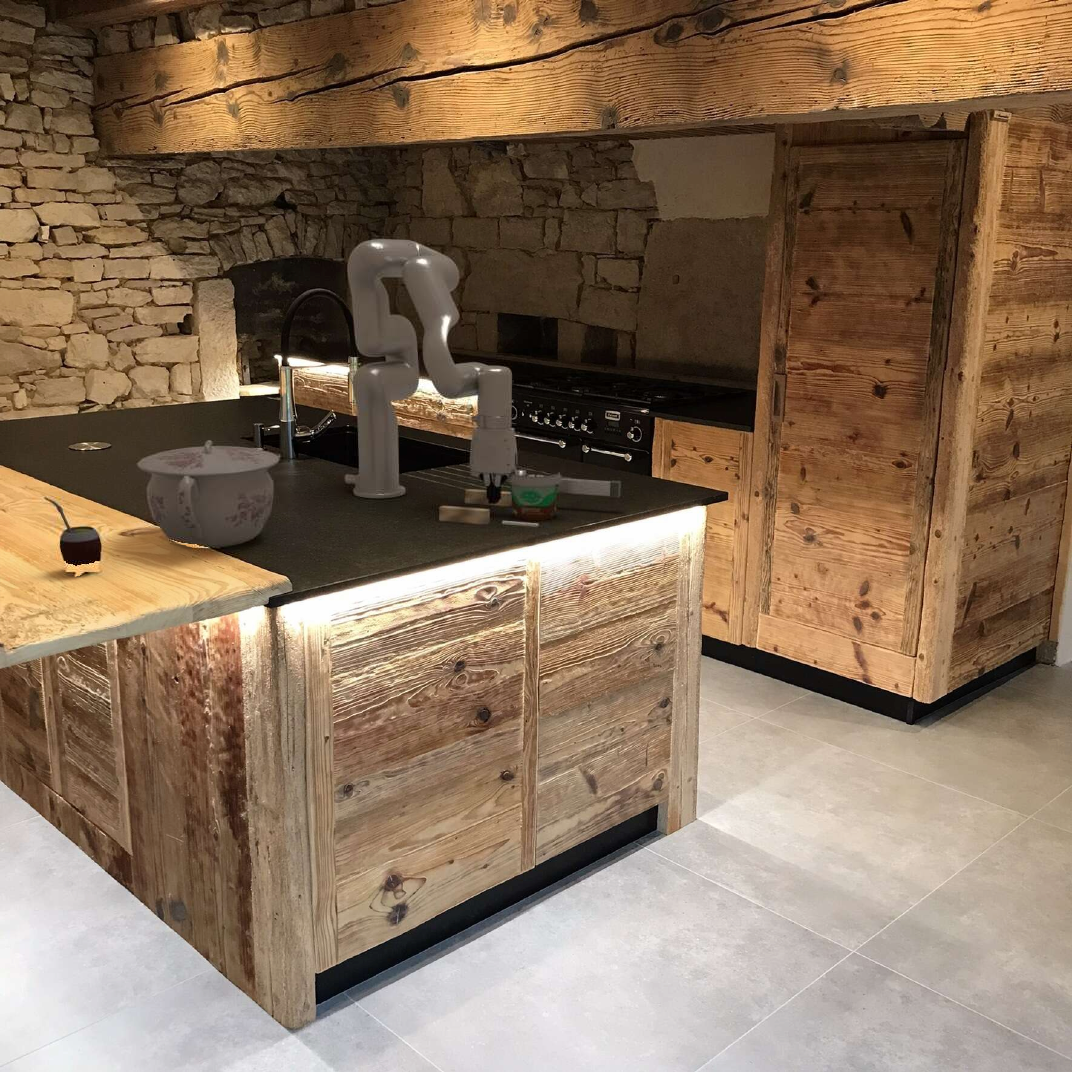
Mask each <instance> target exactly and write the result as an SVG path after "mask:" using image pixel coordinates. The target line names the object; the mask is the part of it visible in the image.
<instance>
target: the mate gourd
mask: <svg viewBox="0 0 1072 1072" xmlns="http://www.w3.org/2000/svg"><path fill="white" fill-rule="evenodd" d="M43 499H44V500H46V501H47V502H49V503H50V504H52V505H54V507H56V510H57V511H58V513H59V514H60V517H61V518H62V520H63V523H64V524H65V528H66V529H65V530H63V532H62V533H61V535H60V538H59V539H60V540H59V549H60V554H61V556H62V559H63V562H64V561H66V563H68V564H73V565H75V566H77V565H81V564H89V563H94V562H95V561H100V562H101V560H102V559H101V558H102V545H103V544H102V542H101V541H102V540H101V538H100V533H99V532H98V530H97V529H96V528H95V527H92V526H85V525H84V526H83V525H82V526H73V527H70V525H69V523H68V520H67V518H66V515H65V513H64V510H63V508H62V507H61V505H60V504H58V503H57V502H56V501H55V500H52V499H50V498H48V497H46V496H44V498H43Z"/></svg>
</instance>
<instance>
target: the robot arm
mask: <svg viewBox="0 0 1072 1072" xmlns="http://www.w3.org/2000/svg"><path fill="white" fill-rule="evenodd" d="M347 261H348V262H347V267H346V268H347V280H348V283H349V288H350V293H351V301H352V315H353V328H354V338H355V345H356V348H357V350H358V353H360V354H361V355H363V356H365V357H370V358H371V357H372V358H377V357H385V361H379V362H371V363H367V364H364V365H362V366H361V367H359V368H358V369H357V370H356V371H355V372H354V374H353V378H352V383H351V384H352V391H353V397H354V401H355V404H356V415H357V417H356V418H357V432H358V433H357V437H358V438H357V440H358V441H357V443H358V474H356V475H354V474H345V476H344V482H345V484H348V485H351V484H354V486H355V487H354V488H353V489H352V490H353V495H354V496H356V497H359V498H367V499H389V498H390V499H391V498H392V499H393V498H396V497H397V498H398V497H400V496H403V495H405V493H406V487H404V486H403V485H400V477H399V476H400V475H399V473H400V471H399V469H400V467H399V466H400V465H399V463H400V462H399V423H398V417H397V414H396V411H395V408H394V407H393V404H392V402H395V401H401V400H405V399H409V398H411V397H413V396H414V395H415V393H416V392H417V390H418V388H419V382H420V368H419V356H418V354H419V353H418V341H417V334H416V330H415V328H414V326H413V324H412V323H411V321H410V320H409V319H408V317H407V318H406V317H405V316H403V315H400V314H391V311H390V299H389V294H388V291H387V289H386V287H385V285H384V284H383V282H382V278H402V279H403V282H404V285H405V287H406V289H407V292H408V294H409V296H410V298H411V301H412V302H413V306H414V308H415V309H416V313H417V315H418V317H419V319H420V322H421V323H422V327H423V329H424V334H423V338H422V358H423V359H422V360H423V364H424V367H425V370H426V372H427V374H428V376H429V379H430V381H431V382H432V384H433V387H434V388H435V390H436V391H437V393H438V394H439V395H441V397H443V398H445V399H448V400H457V399H462V398H468V397H476V396H477V414H476V415H472V416H471V419H470V420H471V422H472V423H475V424H476V426H475V427H474V428H473V431H472V435H471V436H472V437H471V441H470V452H469V453H470V455H469V469H470V476H472V477H476V478H478V479H480V480H481V481H482V482H483V484H484V486H485V487H486V490H487V499H488V503H489V504H491V503H493V504H496V503H498V502H499V500H500V499H501V491H502V485H503V484H504V483H505V482H506V481H507V480H508V476H509V475H510V473H512V474H515V475H517V471H516V470H518V469H517V468H518V448H517V447H518V446H517V439H516V433H515V429H514V428H513V427H512V401H513V400H512V396H513V395H512V392H513V391H512V389H513V388H512V387H513V384H512V383H513V382H512V381H513V380H512V379H513V374H512V370H511V369H510V368H509V367H507V366H501V365H487V364H485V363H481V362H476V361H473V362H463V363H462V362H461V363H455V362H454V360H453V358H452V356H451V352H450V350H449V346H448V336H449V335H448V334H449V333H450V330H451V328H452V327H454V326H455V325H456V324H457V323H458V322H459V319H460V313H459V310H458V309H457V305H456V303H455V301H454V300H453V298H452V295H451V292H453V291H455V289H456V288H457V287H458V285H459V281H460V271H459V269H458V266H457V265H456V263H455V262H454V261H453V259H452V258H450V257H449V256H447V255H445V254H443V253H440V252H439V251H436V250H434V249H432V248H430V247H428V246H425V245H424V244H422V243H419V242H417V241H414V240H410V239H391V238H390V239H389V238H388V239H387V238H375V239H370V240H365V241H363V242H361V243H358V245H356V247H355V248H354V249H353V250H352V251H351V253H350V255H349V258H348V260H347ZM493 475H495V479H493V477H494V476H493Z"/></svg>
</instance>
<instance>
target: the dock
mask: <svg viewBox="0 0 1072 1072" xmlns="http://www.w3.org/2000/svg"><path fill="white" fill-rule="evenodd" d="M464 494H465V495H464V504H473V505H485V506H499V507H511V506H512V496H511V491H502V490H501V499H500V500H499V502H498V503H496V504H493V503H491V504H489V503H488V499H487V489H486V490H485V489H475V488H473V489H472V488H467V489H465V490H464ZM438 509H439V510H438V511H439V513H438V515H439V516H438V517H439V521H440V522H451V523H461V524H462V523H463V524H474V525H484V526H485V525H486V526H487V525H488V524H490V522H491V521H490V520H491V519H490V518H491V517H490V514H491V512H490V511H491V509H489V508H478V507H467V506H466V507H465V506H464V507H463V506H452V505H451V506H450V505H441V506H439V508H438Z"/></svg>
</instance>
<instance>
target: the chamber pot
mask: <svg viewBox="0 0 1072 1072" xmlns="http://www.w3.org/2000/svg"><path fill="white" fill-rule="evenodd" d="M280 459H281V458H280V457H279V456H278V455H277V454H274V453H273V452H270V451H266V450H262V449H257V448H252V447H243V446H230V445H229V446H228V445H213V441H212V440H210V439H208V440H207V441H205V443H204V446H192V447H184V448H177V449H171V450H165V451H161V452H157V453H154V454H151V455H148V456H145V457H143V458H141V459H140V460H139V461H138V463H136V465H137V467H138V468H139V470H141V471H143V472H146V473H149V474H151V476H150V479H149V482H148V484H147V486H146V497H147V498H146V499H147V502H148V507H149V510H150V513H151V516H152V518H153V520H154V522H155V523H156V524H157V526H158V527H159V528H160V530H161V531H162V533H164V534H165V536H166V537H167V539H168V538H169V539H168V540H170V539H171V540H174V541H177V542H181V543H188V544H197V545H199V546H204V547H224V546H231V545H236V544H239V545H241V543H242V544H244V543H246V542H249V541H251V540H253V539H254V538H257V536H258V535H259V534H260V533H261V531H262V529H263V528H264V526H265V524H266V522H267V521H268V519H269V518H270V514H271V513H272V507H273V500H274V494H275V493H274V491H275V489H274V487H275V486H274V480H273V478H272V477H271V475H270V474H269V472H268V469H270V468H272V467H273V466H276V465H277V464H279V462H280ZM171 540H170V541H171ZM236 546H237V545H236ZM231 547H232V546H231Z"/></svg>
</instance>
